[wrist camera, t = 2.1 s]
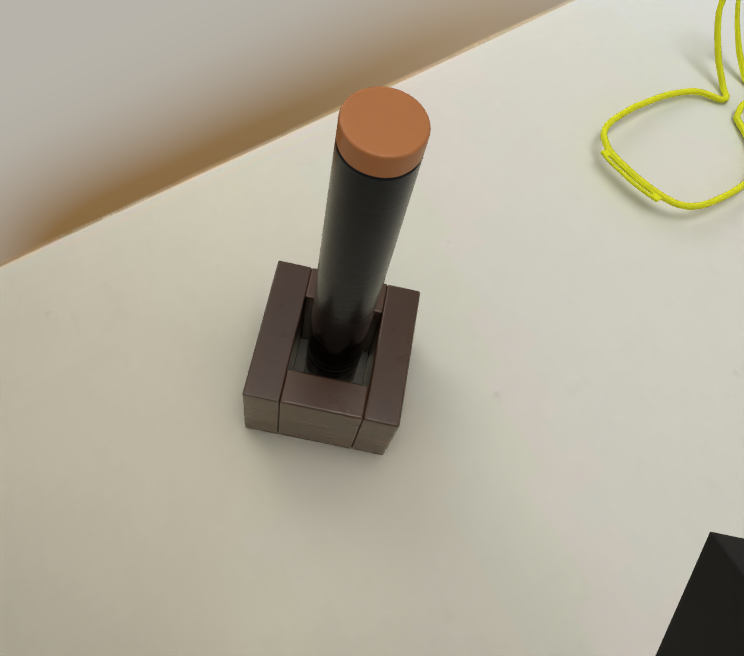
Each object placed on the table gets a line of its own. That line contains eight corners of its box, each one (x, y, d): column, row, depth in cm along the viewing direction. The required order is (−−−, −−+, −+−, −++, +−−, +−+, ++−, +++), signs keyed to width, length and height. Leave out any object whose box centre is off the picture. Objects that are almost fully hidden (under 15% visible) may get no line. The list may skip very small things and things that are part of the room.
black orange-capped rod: (298, 395, 30) (330, 145, 16) (308, 350, 31) (347, 76, 17) (347, 405, 30) (425, 166, 16) (356, 360, 31) (436, 96, 17)
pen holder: (244, 427, 29) (242, 394, 26) (276, 304, 32) (278, 260, 29) (383, 455, 30) (399, 427, 26) (403, 332, 32) (420, 290, 29)
